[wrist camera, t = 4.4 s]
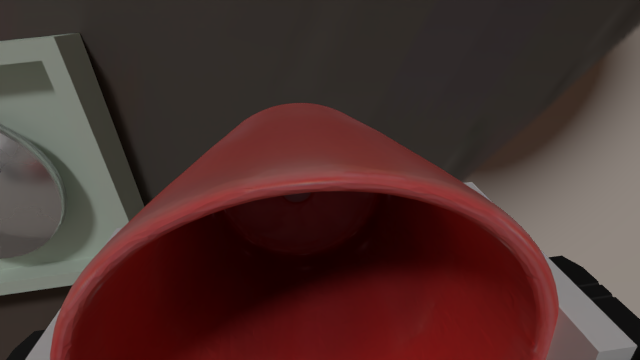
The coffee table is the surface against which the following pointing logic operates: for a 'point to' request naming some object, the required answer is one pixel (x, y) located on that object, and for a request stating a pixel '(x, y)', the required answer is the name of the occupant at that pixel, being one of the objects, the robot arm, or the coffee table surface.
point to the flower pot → (312, 259)
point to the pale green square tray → (65, 155)
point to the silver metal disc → (27, 196)
